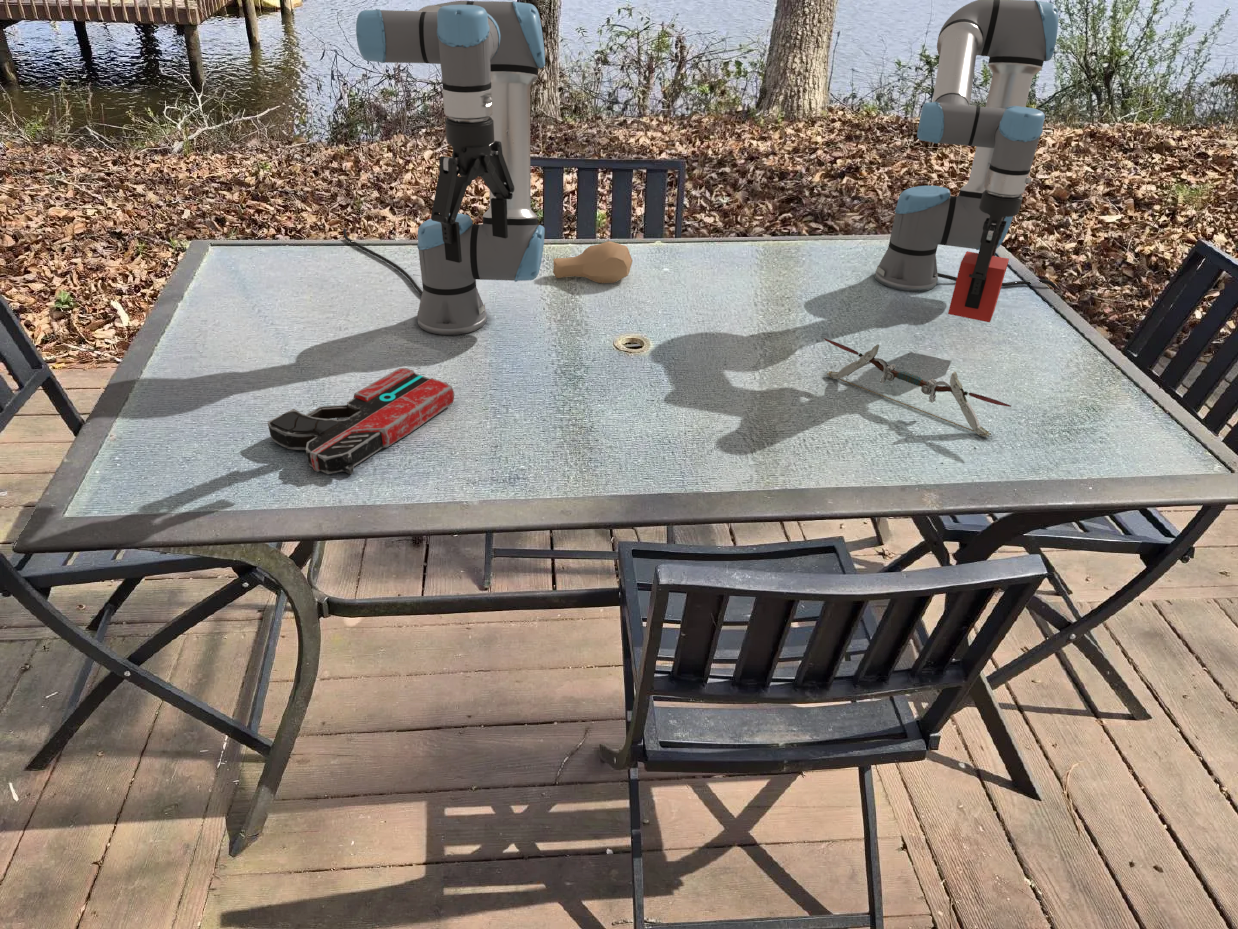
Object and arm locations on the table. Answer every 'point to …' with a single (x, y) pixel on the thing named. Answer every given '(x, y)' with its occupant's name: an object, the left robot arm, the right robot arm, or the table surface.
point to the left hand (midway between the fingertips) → (477, 248)
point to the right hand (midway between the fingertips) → (974, 300)
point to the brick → (989, 291)
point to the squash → (596, 263)
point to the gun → (362, 421)
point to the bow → (927, 387)
